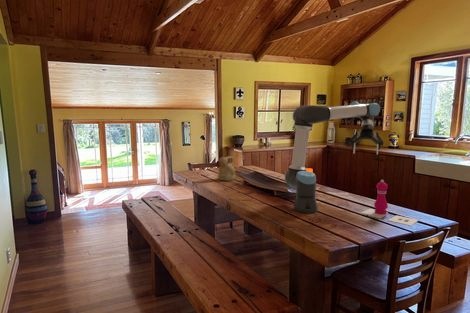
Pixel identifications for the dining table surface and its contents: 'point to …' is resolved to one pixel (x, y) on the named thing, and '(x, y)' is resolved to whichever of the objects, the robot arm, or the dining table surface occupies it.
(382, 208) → the pepper mill
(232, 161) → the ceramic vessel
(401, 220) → the tile
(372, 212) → the pad
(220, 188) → the dining table surface
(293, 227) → the dining table surface
